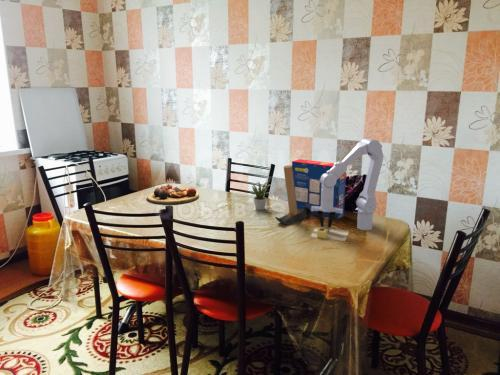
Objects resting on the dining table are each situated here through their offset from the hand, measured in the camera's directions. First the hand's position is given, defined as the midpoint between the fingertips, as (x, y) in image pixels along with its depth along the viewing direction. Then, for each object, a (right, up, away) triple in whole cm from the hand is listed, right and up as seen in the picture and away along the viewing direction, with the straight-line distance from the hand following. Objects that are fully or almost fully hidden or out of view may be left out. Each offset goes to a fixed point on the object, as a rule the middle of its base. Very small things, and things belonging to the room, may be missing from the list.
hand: (326, 226), depth 205 cm
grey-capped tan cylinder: (0, -2, 0) cm, 2 cm away
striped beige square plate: (+1, -4, -4) cm, 5 cm away
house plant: (-29, +6, +40) cm, 50 cm away
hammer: (-14, +1, +18) cm, 23 cm away
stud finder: (-3, -4, -7) cm, 8 cm away
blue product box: (0, +4, +31) cm, 31 cm away
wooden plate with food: (-84, +12, +64) cm, 106 cm away
